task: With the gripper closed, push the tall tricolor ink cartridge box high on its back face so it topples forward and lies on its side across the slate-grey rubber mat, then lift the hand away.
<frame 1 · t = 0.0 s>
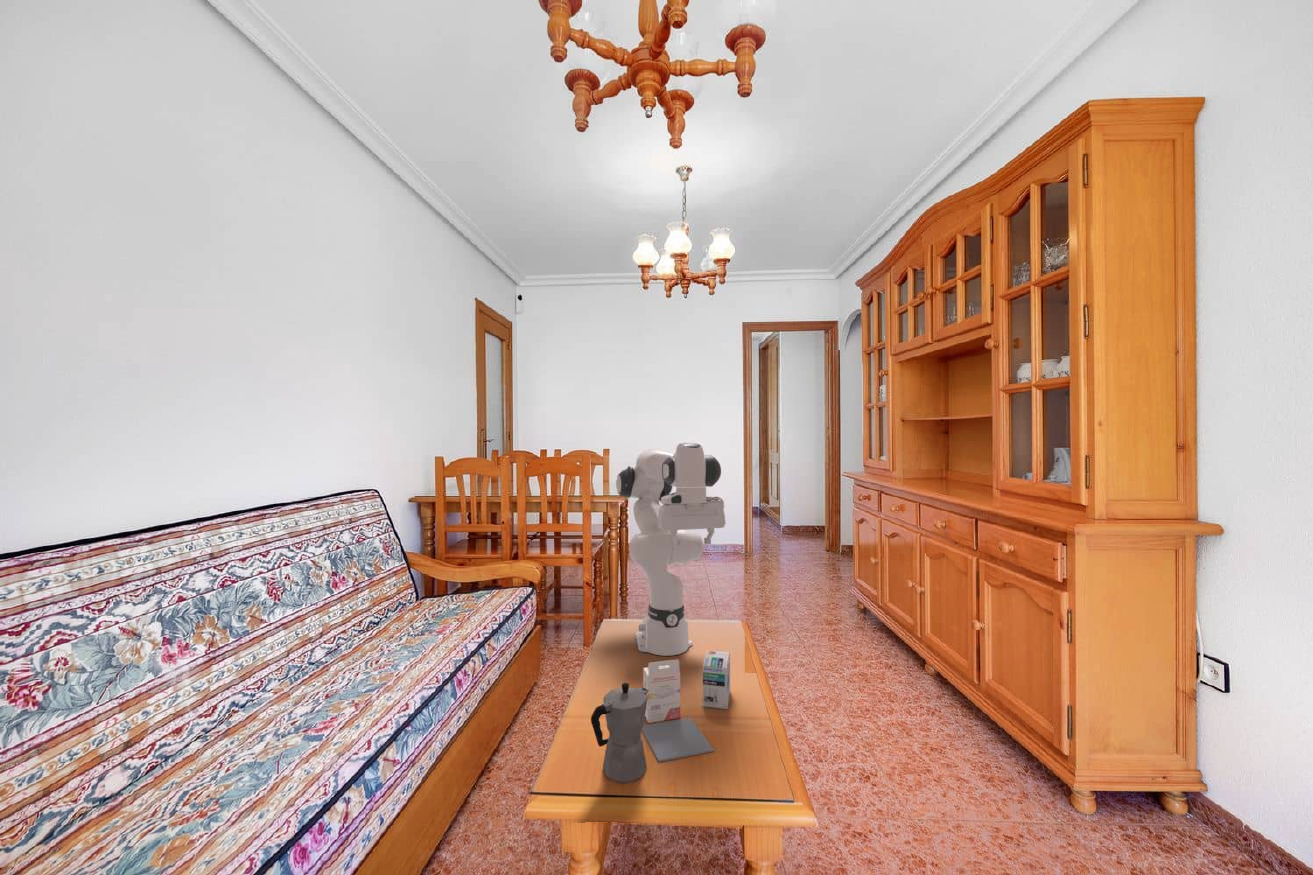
hand: (692, 545, 150), 39 cm above the table, tool pointing down, fingers open, 8 cm apart
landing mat: (675, 738, 119), on the table
coffeepot: (620, 772, 108), on the table
ink cartridge box: (661, 716, 129), on the table
light bulb box: (716, 699, 139), on the table
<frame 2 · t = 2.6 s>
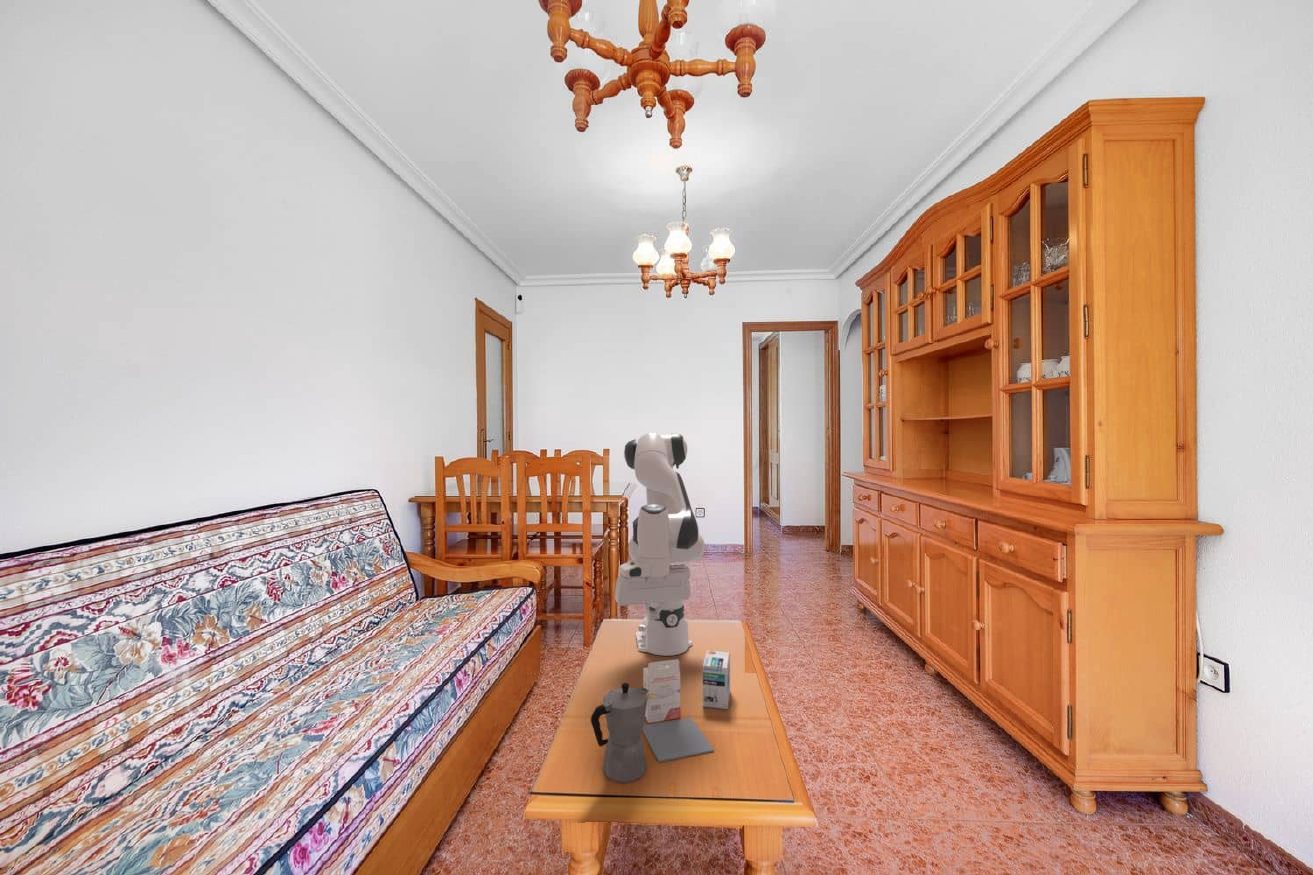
hand: (653, 618, 137), 22 cm above the table, tool pointing down, fingers closed
nothing on the table moved.
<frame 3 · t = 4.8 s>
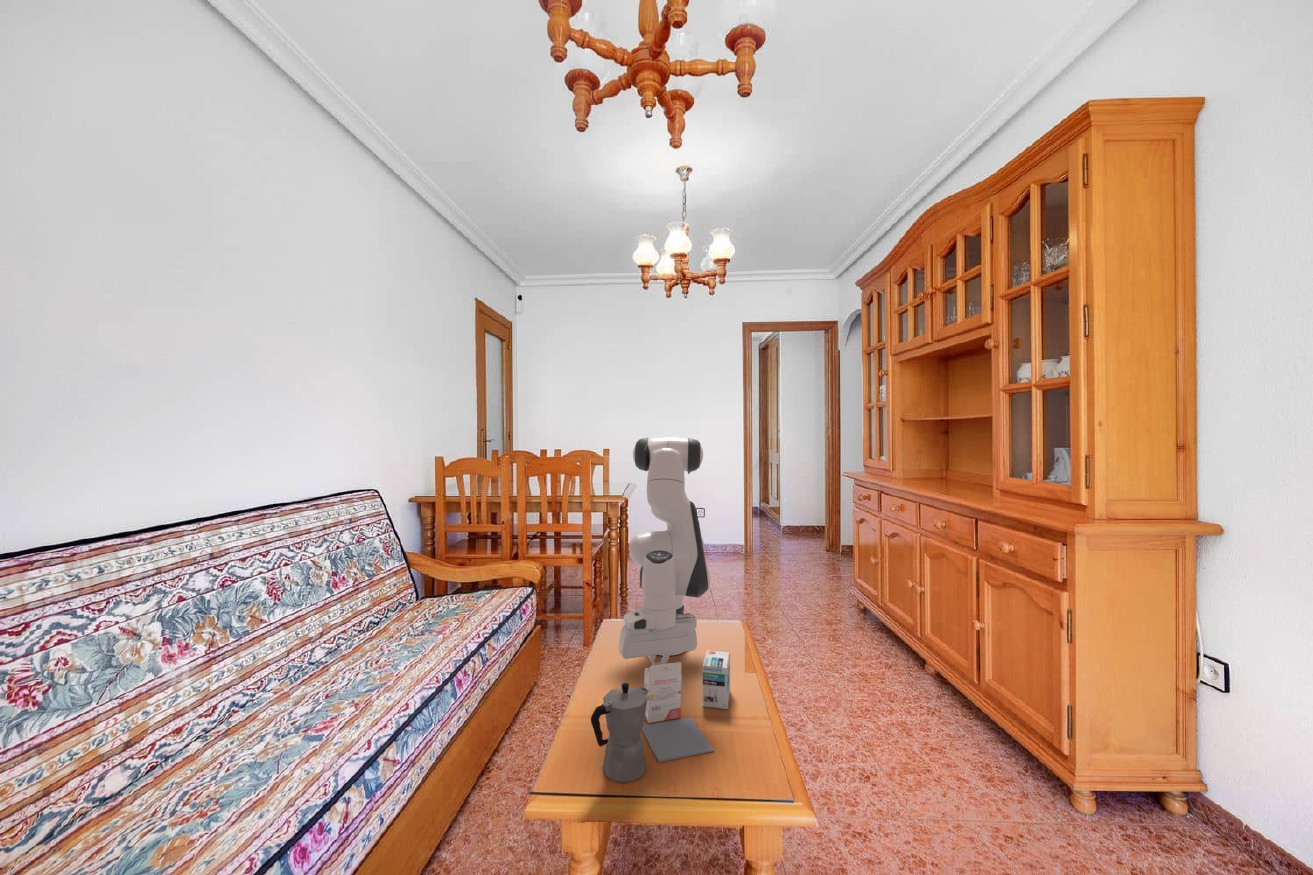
hand: (658, 670, 132), 10 cm above the table, tool pointing down, fingers closed
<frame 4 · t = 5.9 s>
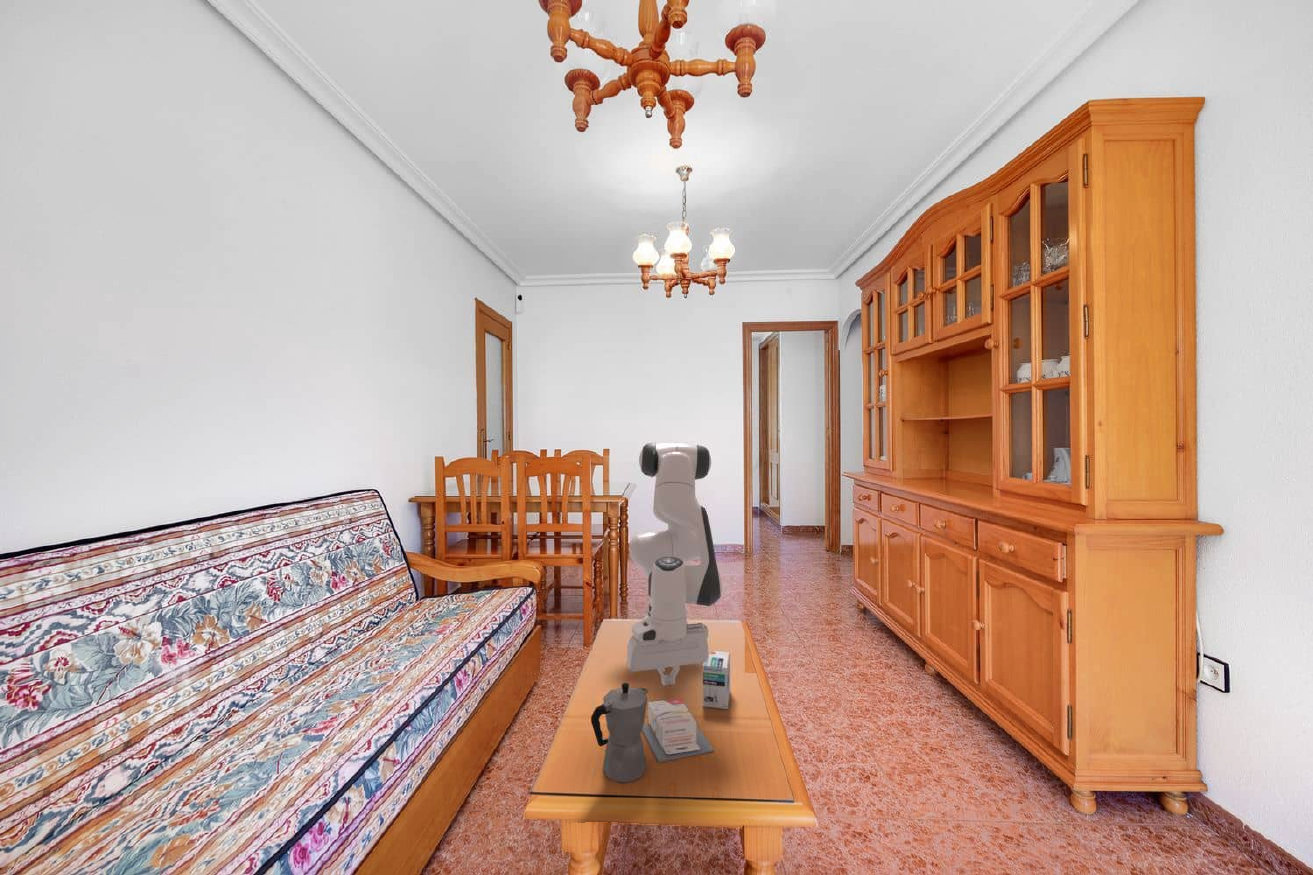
hand: (668, 683, 125), 10 cm above the table, tool pointing down, fingers closed
ink cartridge box: (663, 708, 127), point 3 cm above the table, touching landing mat
everything else where it was.
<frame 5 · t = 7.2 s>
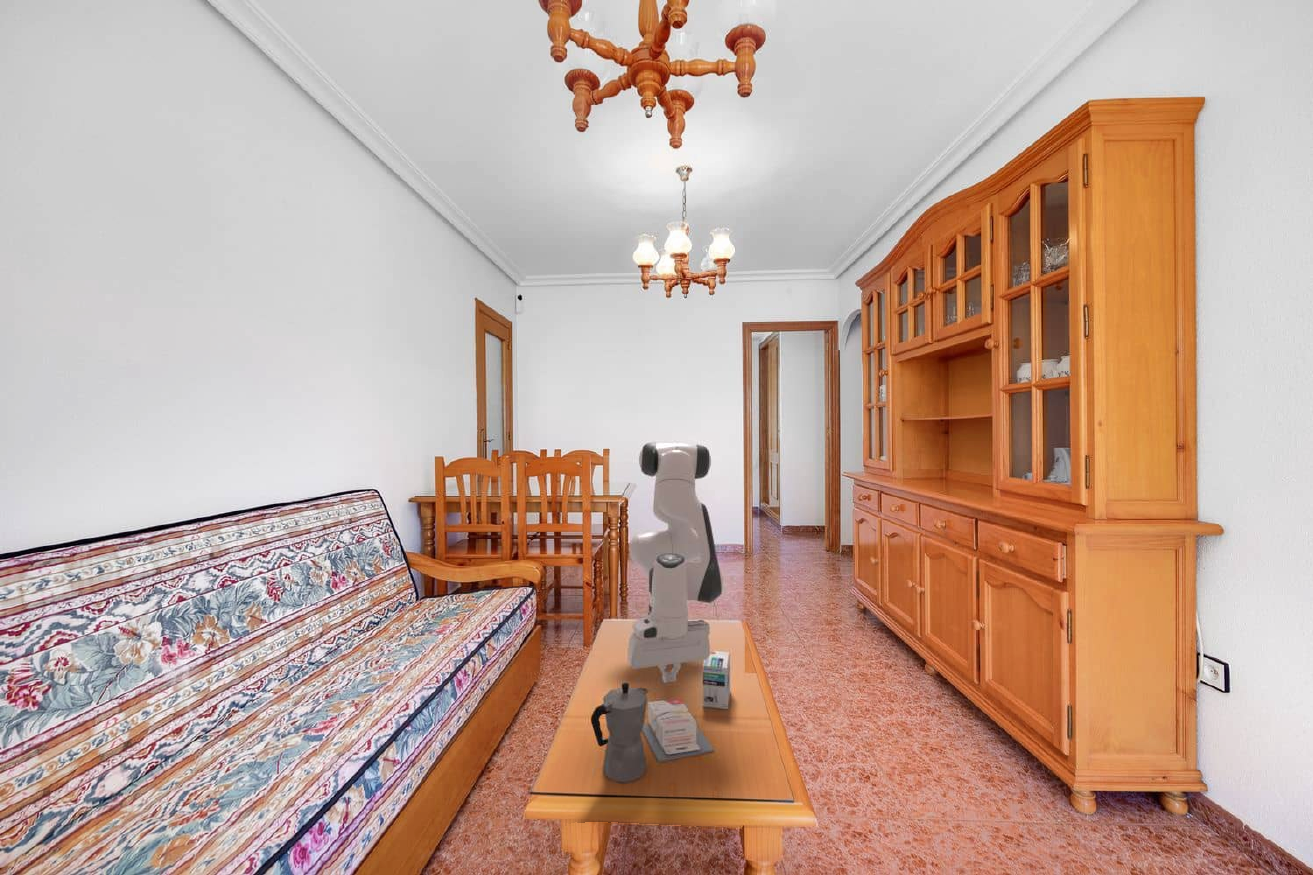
hand: (669, 680, 124), 11 cm above the table, tool pointing down, fingers closed
nothing on the table moved.
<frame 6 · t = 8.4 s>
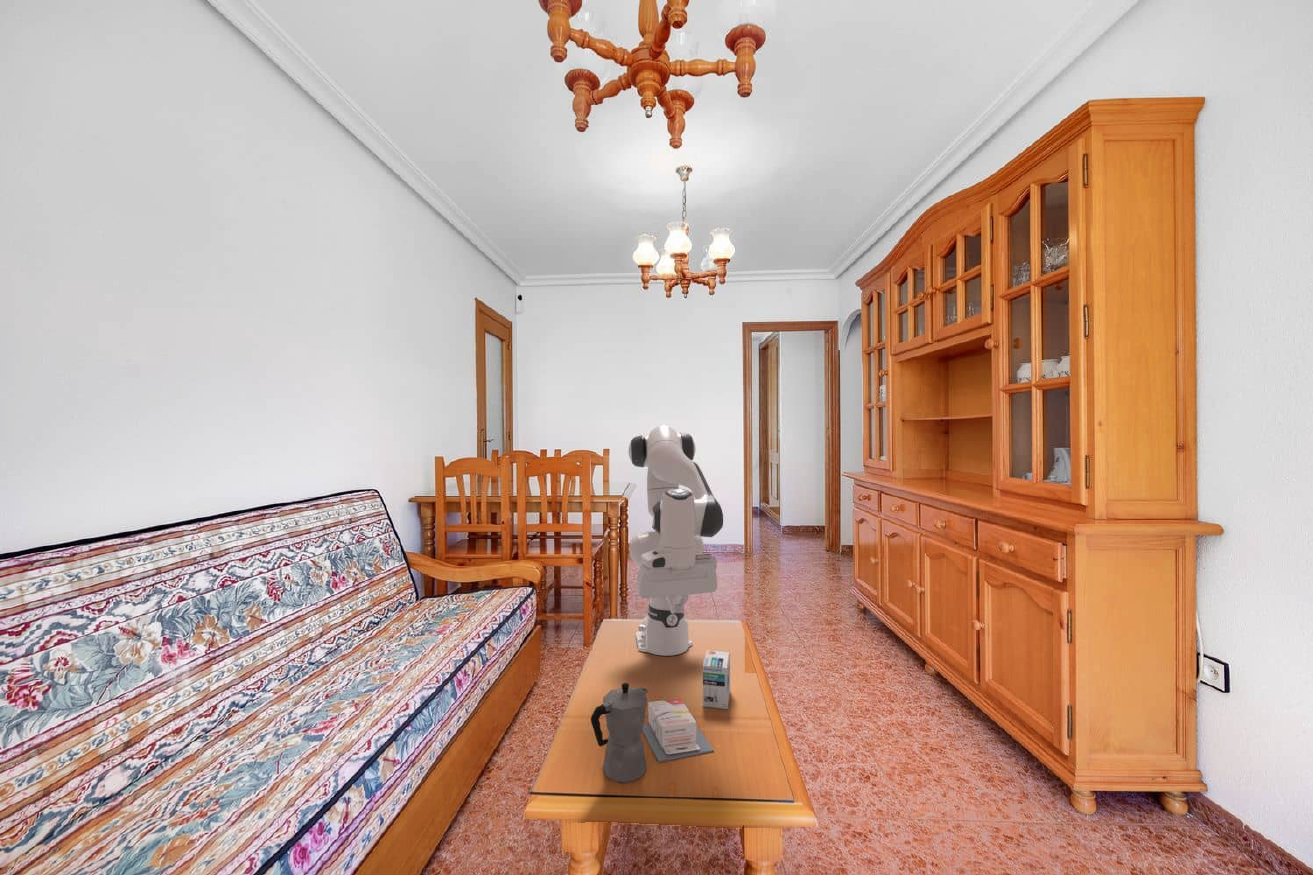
hand: (677, 612, 126), 27 cm above the table, tool pointing down, fingers closed
nothing on the table moved.
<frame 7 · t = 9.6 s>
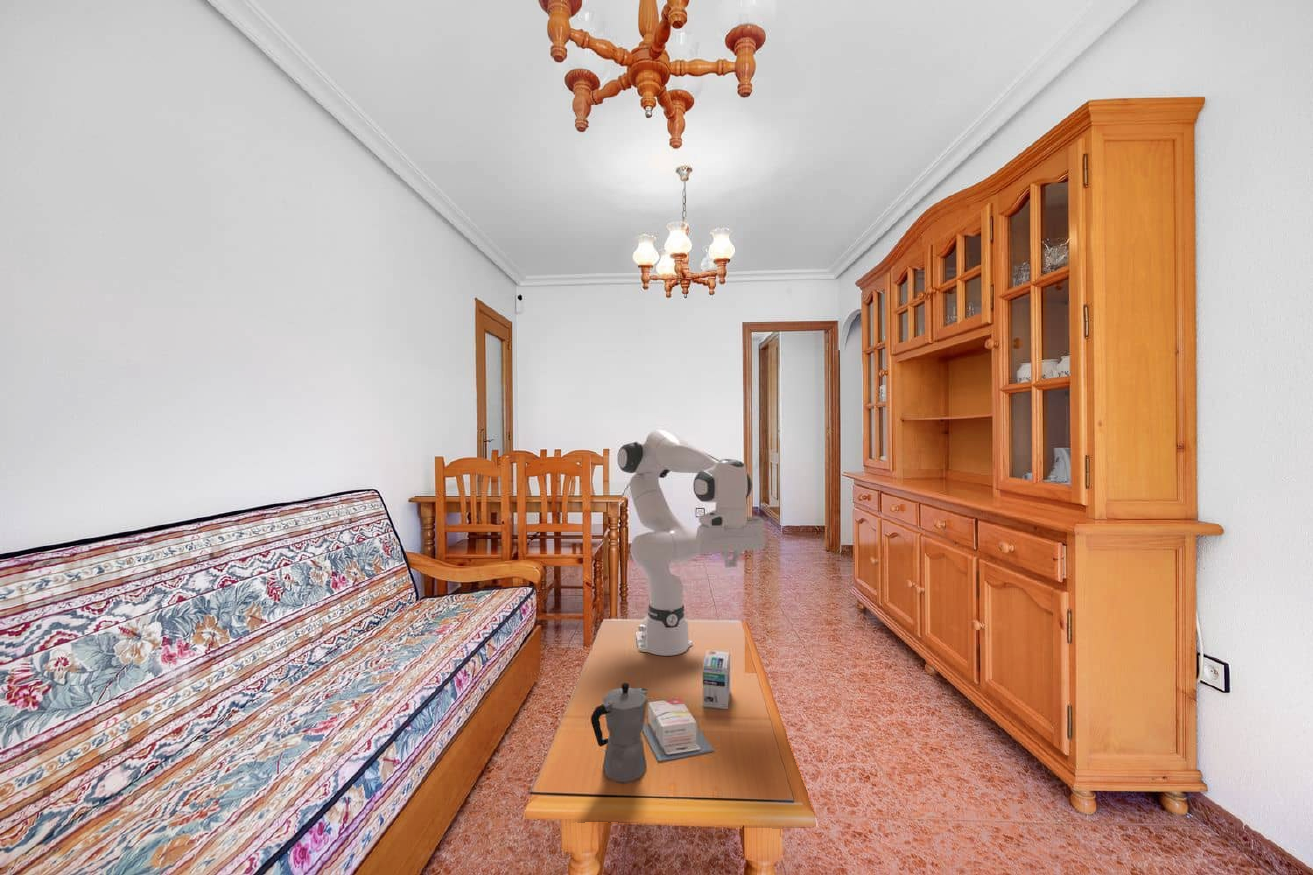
hand: (730, 566, 144), 34 cm above the table, tool pointing down, fingers closed
nothing on the table moved.
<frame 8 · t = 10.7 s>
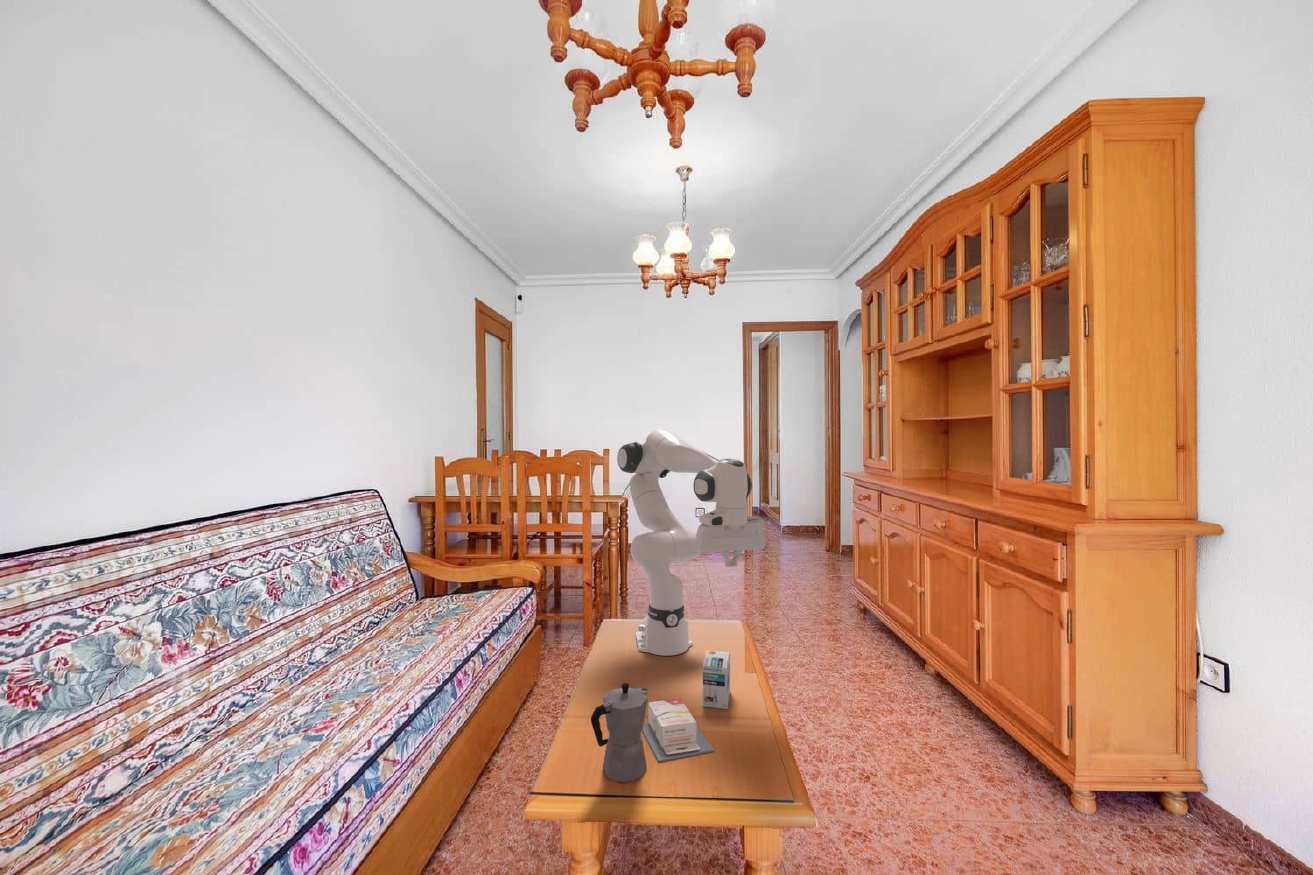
hand: (731, 566, 144), 34 cm above the table, tool pointing down, fingers closed
nothing on the table moved.
at the end: ink cartridge box tilted 90°; ink cartridge box touching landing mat; ink cartridge box inside the target area (0.4 cm from its centre), point 2.9 cm above the table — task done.
